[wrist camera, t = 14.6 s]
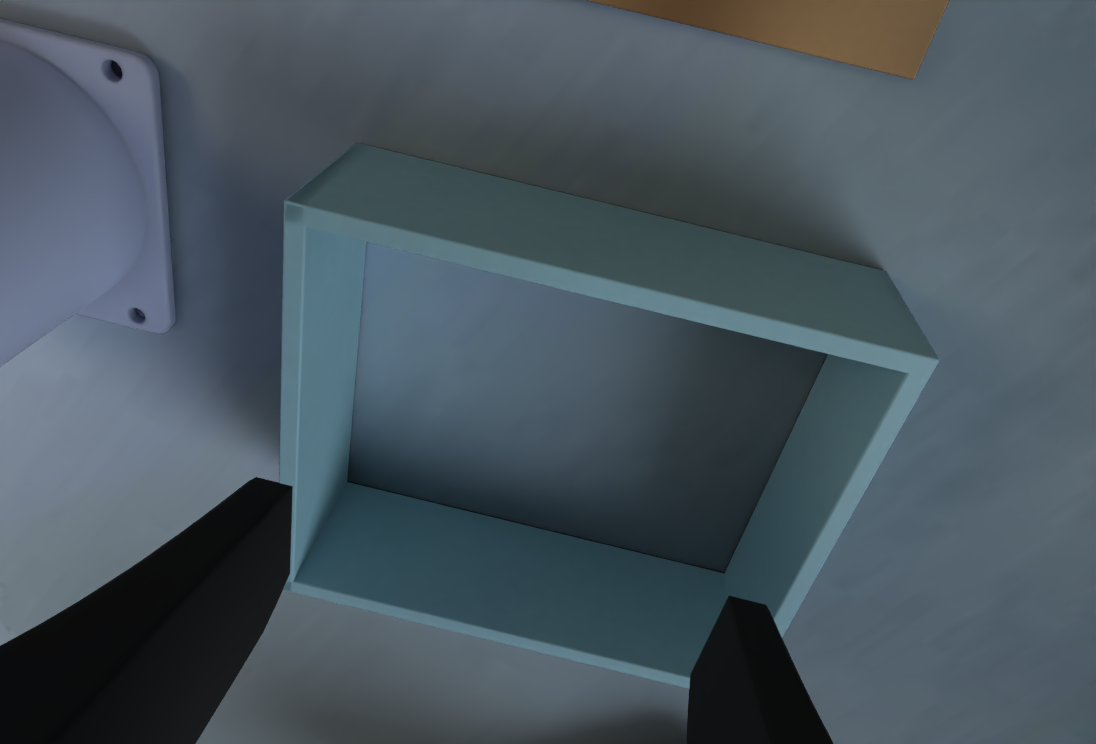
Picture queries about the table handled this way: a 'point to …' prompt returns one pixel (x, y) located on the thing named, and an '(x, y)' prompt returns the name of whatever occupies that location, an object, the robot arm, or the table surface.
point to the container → (607, 273)
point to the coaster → (816, 26)
